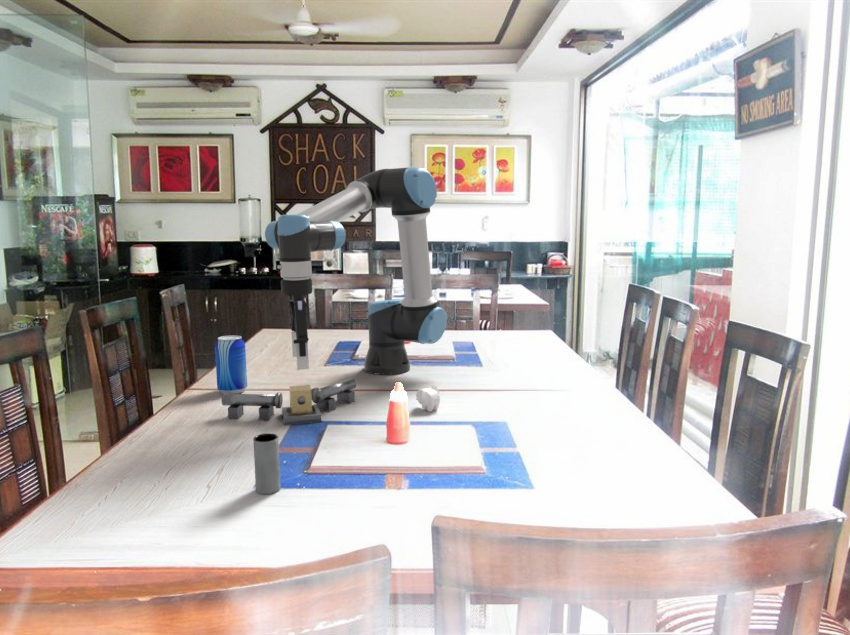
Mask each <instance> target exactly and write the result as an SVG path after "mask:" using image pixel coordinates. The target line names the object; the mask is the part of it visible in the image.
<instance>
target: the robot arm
mask: <svg viewBox="0 0 850 635" xmlns="http://www.w3.org/2000/svg"><path fill="white" fill-rule="evenodd" d="M437 198H438V192H437V185H436V180H435V178H434V176H433V175H432V174H431V173H430V172H429V171H428V170H427V169H426V168H423V167H413V166H409V167H398V168H396V167H395V168H382V169H377V170H375V171H372V172H370V173H367V174H365V175H363V176H362V177H359V178H357V179H355V180H353V181H351V182H350V183H348V185H347V186H346V189H343V190H342V191H340V192H337V193H336V194H334V195H331V196H330V197H328V198H326V199H323V200H322V201H321V202H320V201H319V203H317V204H314V205H313V206H311V207H308V208H307V209H305V210H303V211H301V212H299V213H297V214H296V213H295V214H281V215H280V216H278V219H277V220H273V221H271V222H269V223H268V224H267V225H266V227H265V231H264V238H265V240H266V244H268V246H270V247H271V248H272V249H277V250H278V256H279V264H278V265H277V269H278V270H280V277H281V278H282V279H281V280H280V290H281V292H280V293H281V294H282V295H284V296H287V297H289V301H288V308H289V313H290V325H289V326H290V330H291V332H290V333H291V346H292V348H291V350H292V358H296V370H309V369H310V367H309V366H310V365H309V362H310V361H309V345H308V344H309V343H308V342H309V340H310V338H309V336H308V335H309V334H308V325H307V324H308V323H307V302H306V300H304V298H303V296H305V295H306V296H307V295H310V294H312V293H313V279H312V278H311V277H312V276H313V271H312V270H313V269H312V256H311V255H312V254H311V253H314V252H315V253H317V252H324V251H330V252H331V251H334V250H338V249H340V248H342V246H344V244H345V242H346V230H345V228H344V226H343V225H342V224H341V222H343V221H344V220H346V219H349V217H352V216H354V215H355V214H357V213H366V212H368V211H370V210H372V209H381V208H385V209H387V208H388V209H389V208H390V210H391V217H393V218H394V219H395V220H396V222H397V229H398V230H397V231H398V238H399V239H398V240H399V249H400V260H401V262H400V263H401V270H402V272H401V273H402V280H403V282H402V284H403V291H404V292H403V293H404V297H403V298H392V299H385V300H384V299H383V300H378V301H372V302H370V304H369V305H368V314H367V317H368V319H367V320H368V349H367V352H366V356H365V360H364V363H363V366H364V367H363V370H364V371H365V372H366V373H369V374H374V375H397V374H403V373H407V372H409V371H410V370H411V361H410V358H409V355H408V352H407V350H406V347H405V342H410V343H416V344H417V343H418V344H420V345H425V344H427V345H429V344H430V345H432V344H436V343H437V342H439V340H441V339H442V337H443V335H444V333H445V331H446V327H447V323H448V316H447V312H446V311H445V309H444V308H442V307H440V306H439V302H438V298H437V297H436V296H435V295H433V289H432V276H431V264H430V263H431V262H430V252H429V251H430V250H429V239H428V227H427V217H428V216H429V214H430V213H431V207H433V206H434V205H435V203H436V201H437V200H436V199H437Z"/></svg>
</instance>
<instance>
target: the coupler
mask: <svg viewBox="0 0 850 635" xmlns="http://www.w3.org/2000/svg"><path fill="white" fill-rule="evenodd" d="M288 388H289V407H290V413H291V416H299V415H311V414H312V405H313V401H312V395H311V390H312V388H311V386H310V384H305V385H304V384H301V385H291V386H290V385H289V387H288Z"/></svg>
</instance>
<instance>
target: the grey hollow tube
mask: <svg viewBox="0 0 850 635" xmlns="http://www.w3.org/2000/svg"><path fill="white" fill-rule="evenodd" d="M252 440H253V459H254V460H253V462H254V480H255V481H254V482H255V493H257V494H260V495H271V494H275V493H278V492H279V491H280V490H281V468H280V466H281V464H280V445H279V436H278V434H275V433H261V434H257V435H255V436H254V437H253V439H252Z"/></svg>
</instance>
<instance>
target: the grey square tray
mask: <svg viewBox="0 0 850 635" xmlns="http://www.w3.org/2000/svg"><path fill="white" fill-rule="evenodd" d="M281 414H282V420H283V425H284V426H290V425H301V424H311V422H313V423H321V422H322V414H321V410H320V409H319V408H318V406H317V404H312V414H311V415H299V416H291V413H290V406H287V407H286V406H285V407H283V406H282V407H281Z"/></svg>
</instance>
